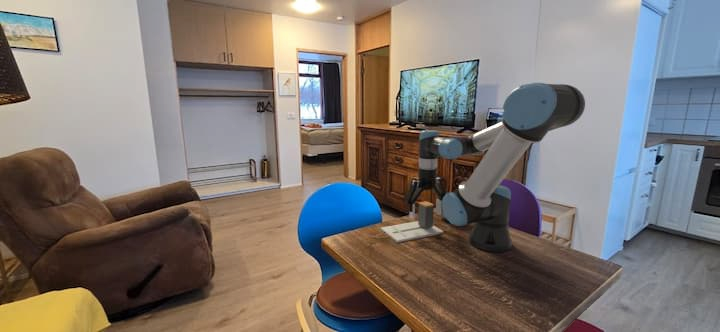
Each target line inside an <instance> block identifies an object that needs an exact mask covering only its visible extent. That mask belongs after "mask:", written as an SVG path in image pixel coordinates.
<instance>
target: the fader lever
mask: <svg viewBox="0 0 720 332" xmlns="http://www.w3.org/2000/svg"><path fill="white" fill-rule="evenodd" d="M434 208H435V205H434V203H432V202H430V201H420V202H418V216H417V217H418V219H417V221H418V225H420V226H422V227H423V228H430V227H433V226H434V210H435V209H434Z"/></svg>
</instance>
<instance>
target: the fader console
mask: <svg viewBox="0 0 720 332" xmlns="http://www.w3.org/2000/svg"><path fill="white" fill-rule="evenodd" d="M380 231H382V232H383V233H384V232H385V233H384V234H386V235H387V236H388V237H390V238H391V239H392V240H393V241H395V242H396V243H402V242H406V241H412V240H413V241H414V240H417V239H422V238H427V237H432V236H437V235H441V234H444V230H442V229H440V228H438V227H437V226H435V225H433V227H430V228H423V227H422V226H420V225H418V220H417V221H411V222H406V223H405V222H404V223H400V224H394V225H389V226H383V227H380Z"/></svg>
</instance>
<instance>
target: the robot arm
mask: <svg viewBox="0 0 720 332" xmlns="http://www.w3.org/2000/svg"><path fill="white" fill-rule="evenodd" d="M582 93H583V92H582V91H581V90H579V89H578V88H576V87H574V85H573V86H572V85H569V84H564V83H563V84H562V83H560V84H559V83H558V84H555V83H543V82H531V83H526V84H525V83H524V84H521V85H519V86H517V87H516V88H514V89H513V90H512V91H511V92H509V94H508V95H507V96H506V98H505V99H504V102H503V105H502V110H503V111H502V116H503V118H502V120H501V121H500V122H498V123H496V124H493V125H491V126H489V127H485V128H484V129H482V130H480V131H477V132H475V133H473V134H471V135H469V136H468V135H467V136H455V137H454V136H453V137H452V136H451V137H443V136H440V134H439V131H438V130H435V129H434V130H430V129H427V130H421V131H420V133H419V141H418V145H419V146H418V173H417V177H418V179H417V180H415V179H412V180H411V182H410V183H411V184H410V187H409V189H408V191H407V193H406V196H405V198H404V201H403V202H404V203H405V204H408V205H407V207H408V208H407V210H408V212H409V219H410V220H412V221H415V220H416V219H415V217H416V216H415V212H416V204H415V202H416V201H417V200H418V198H419V197H420V196H421V194H422V193H423V192H424V191H429V190H430V191H432V193H434V195H435V196H436V198H437V199H436V203H435V204H436V205H435V214H436V215H439V216H441V210H442V207H443V212H444V215H445V217H446V218H447V220H448V221H449V222H450V224H451V225H453V226H456V227H462V226H466V225H467V226H468V225H471V224H473V225H472V228H471V230H470V232H469V234H468V242H469V243H470V245H471V246H473V247H474V248H476V249H479V250H483V251H485V252H490V253H491V252H492V253H502V252H503V253H504V252H508V251H510V250H511V249H512V245H513V240H512V238H511V234H510V229H509V222H510V220H509V218H510V210H511V209H510V208H511V202H512V201H511V200H512V198H511V197H512V196H511V195H512V191H511V190H510V188H508V187H506V186H504V185H501V183H502V182H503V181H504V180H505V177H506V176H507V175H508V174H509V173H510V171H511V170H512V169H513V168H514V166H515V165H516V164H517V162H518V161H519V160H520V158H521V157H522V156H523V155H524V153H525V152H526V151H527V150H528V149H529V147H530V146H531V145H532V144H535V143H540V142H541V141H542V140H543V139H544V138H545V136H546V135H547V134H548V133H549V132H551V131H553V130H556V129H557V130H558V129H559V128H564V127H567V126H571V125H572V124H574V123H576V122H577V121H578V120H579V119H580V118H581V117H582V115H583V114H584V111H585V108H586V100H585V96H584V94H582ZM485 152H486V153H485ZM484 153H485V155H484V156H483V157H482V159H481V160H480V162H479V164H478V165H477V166H476V168H475V169H474V171H473V172H472V173H471V175H470V177H469V178H468V180H465V181H464V180H463V181H461V182H460V184H459V185H458V186H457V188H456V189H455V191H452V192H453V193H449V194H446V193H447V192H446V190H445V186H444V184H443V178H442V177H439V176H437V174H438V169H437V167H438V157H440V158H444V159H447V160H449V159H450V160H456V159H458V158H459V157H466V156H478V155H482V154H484ZM435 184H436V185H437V186H436V185H435ZM449 222H448V223H449Z"/></svg>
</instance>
